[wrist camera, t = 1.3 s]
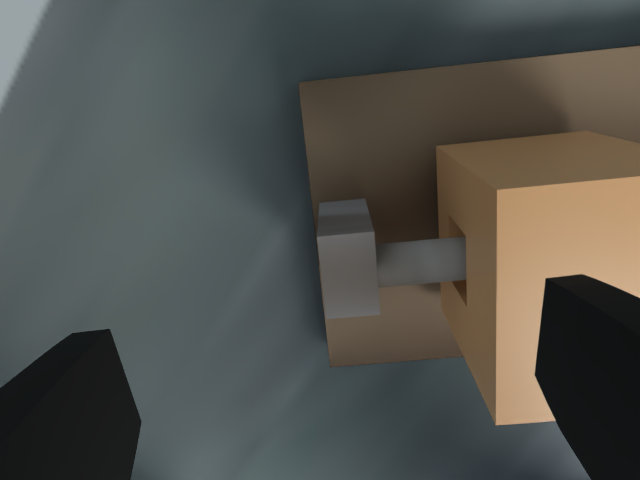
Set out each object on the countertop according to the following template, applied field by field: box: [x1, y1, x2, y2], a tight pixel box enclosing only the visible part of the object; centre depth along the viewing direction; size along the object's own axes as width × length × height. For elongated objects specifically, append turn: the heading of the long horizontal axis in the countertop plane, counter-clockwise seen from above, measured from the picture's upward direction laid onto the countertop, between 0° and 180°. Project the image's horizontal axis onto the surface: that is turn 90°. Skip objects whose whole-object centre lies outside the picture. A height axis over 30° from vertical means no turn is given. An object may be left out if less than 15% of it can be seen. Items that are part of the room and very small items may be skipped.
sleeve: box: [436, 131, 640, 425], centre depth 14 cm, size 6×4×6 cm
